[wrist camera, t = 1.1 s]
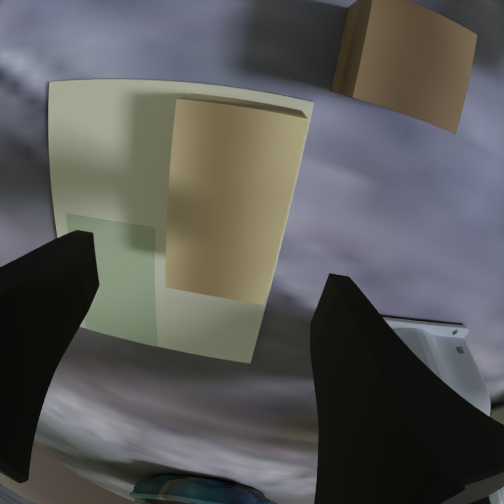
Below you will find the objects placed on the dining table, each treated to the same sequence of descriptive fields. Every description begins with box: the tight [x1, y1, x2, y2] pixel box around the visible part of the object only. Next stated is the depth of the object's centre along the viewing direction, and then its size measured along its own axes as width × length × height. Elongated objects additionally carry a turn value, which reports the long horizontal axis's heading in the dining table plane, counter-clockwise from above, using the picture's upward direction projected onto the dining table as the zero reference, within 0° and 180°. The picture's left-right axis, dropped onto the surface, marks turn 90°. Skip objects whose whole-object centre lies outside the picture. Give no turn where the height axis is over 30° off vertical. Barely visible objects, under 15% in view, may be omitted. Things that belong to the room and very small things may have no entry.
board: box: [48, 79, 314, 364], centre depth 18 cm, size 14×18×1 cm
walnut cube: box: [331, 0, 477, 134], centre depth 11 cm, size 4×4×4 cm
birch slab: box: [165, 93, 308, 305], centre depth 15 cm, size 5×9×3 cm, turn 171°
